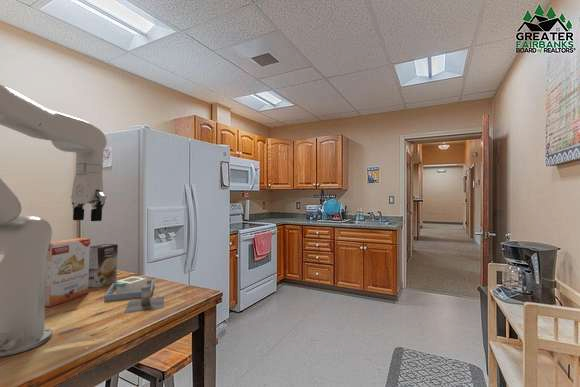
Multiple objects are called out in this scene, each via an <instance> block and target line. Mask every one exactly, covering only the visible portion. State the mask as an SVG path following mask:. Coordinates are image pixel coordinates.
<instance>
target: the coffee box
mask: <svg viewBox="0 0 580 387" xmlns="http://www.w3.org/2000/svg"><path fill="white" fill-rule="evenodd" d="M118 247H119V245H118V244H116V243H114V244H113V243H104V244H98V245H92V246H91V245H90V255H89V279H88V288H89V287H90V288H97V289H98V288H101V287H104V286H107V285H110V284H113V283H116V281H118V280H117V278H118V275H117V274H118V252H119V251H118Z"/></svg>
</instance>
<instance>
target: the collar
mask: <svg viewBox="0 0 580 387" xmlns="http://www.w3.org/2000/svg"><path fill="white" fill-rule="evenodd" d="M147 280H148V279H147V277H140V276H129V277H127V278H123V279H119V280H117V281H116V282H115V283H116V290H115V294H118V293H127V292H137V291H142V289H141V286H142V285H147Z"/></svg>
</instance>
